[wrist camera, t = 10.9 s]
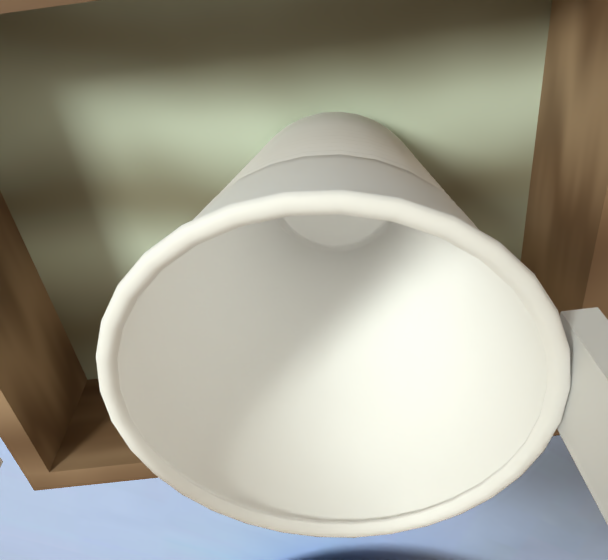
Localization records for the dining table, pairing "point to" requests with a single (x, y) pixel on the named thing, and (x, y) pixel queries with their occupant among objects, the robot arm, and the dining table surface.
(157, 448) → the cup
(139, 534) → the dining table surface
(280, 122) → the crate
